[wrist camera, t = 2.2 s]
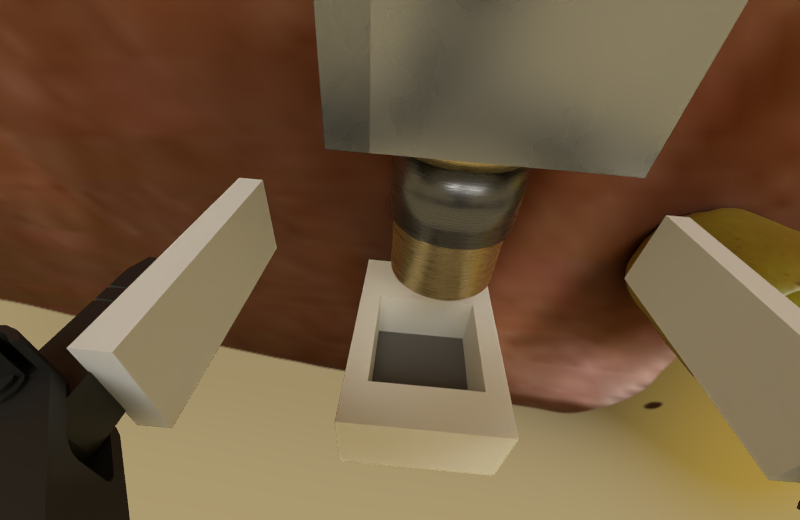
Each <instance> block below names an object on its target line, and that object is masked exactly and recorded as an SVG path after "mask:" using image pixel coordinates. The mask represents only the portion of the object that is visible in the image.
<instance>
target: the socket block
mask: <svg viewBox="0 0 800 520" xmlns="http://www.w3.org/2000/svg"><path fill="white" fill-rule="evenodd" d="M335 428H336V436H337V444H338V452H339V459H340V461H347V462H356V463H368V464H378V465H388V466H399V467H409V468H420V469H430V470H441V471H452V472H463V473H473V474H483V475H494V474H495V473H496V471H497V470H498V468H499V467H500V465H501V464H502V463H503V461H504V460H505V458H506V457H507V456H508V454H509V453H510V451H511V450H512V448H513V447H514V446H515V444H516V443H517V441H518V440H519V437H518V432H517V427H516V422H515V418H514V412H513V408H512V403H511V398H510V393H509V388H508V383H507V378H506V373H505V369H504V364H503V359H502V354H501V349H500V344H499V339H498V335H497V330H496V325H495V320H494V315H493V310H492V306H491V301H490V296H489V291H488V286H487V287H486V288H485V289H484V290H483V291H482V292H480V293H479V294H477V295H475V296H473V297H470V298H467V299H462V300H453V301H446V300H437V299H432V298H428V297H425V296H422V295H420V294H417V293H415V292H413V291H412V290H410V289H408V288H407V287H406V286H404V285H403V284H402V283H401V282H400V281H399V280H398V279H397V277H396V276H395V274H394V272H393V270H392V266H391V261H380V260H369V262H368V267H367V271H366V276H365V281H364V286H363V290H362V295H361V300H360V305H359V309H358V314H357V319H356V323H355V328H354V333H353V338H352V342H351V347H350V352H349V356H348V361H347V366H346V371H345V375H344V380H343V385H342V389H341V394H340V399H339V404H338V408H337V413H336V418H335Z"/></svg>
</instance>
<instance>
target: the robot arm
mask: <svg viewBox="0 0 800 520" xmlns="http://www.w3.org/2000/svg"><path fill="white" fill-rule="evenodd" d="M276 249H277V246H276V242H275V237H274V232H273V227H272V222H271V217H270V212H269V208H268V203H267V198H266V193H265V188H264V183H263V180H258V179H247V178H239V179H238V180H237V181H236V182H235V183H234V184H232V185H231V186H230V187H229V188H228V189H227V190H226V191H225V192H224V193H223V194H222V195H221V196H220V197H219V198H218V199H217V200H216V201H215V202H214V203H213V204H212V205H211V206H210V207H209V208H208V209H207V210H206V211H205V212H204V213H203V214H202V215H201V216H200V217H199V218H198V219H197V220H196V221H195V222H194V223H193V224H192V225H191V226H190V227H189V228H188V229H187V230H186V231H185V232H184V233H183V234H182V235H181V236H180V237H179V238H178V239H177V240H176V241H175V242H174V243H173V244H172V245H171V246H170V247H169V248H168V249H167V250H166V251H165V252H163V253H162V254H161V255H160V256H159V257H158V258H151V257H148V258H147V259H145V260H143V261H141V262H139V263H138V264H136V265H134V266H132V267H130V268H129V269H127V270H126V271H125V272H124V273H122V274H121V275H120V276H119V277H118V278H117V279H116V280H115V281H114V282H113V283H112V284H110V285H111V286H110V288H106V289H105V290H104V291H103V292H102V293H101V294H100V295H99V296H97V297H96V298H97V300H96V301H92V302H91V303H90V304H89V305H88V306H87V307H86V308H84V309H83V310H82V311H81V312H80V313H79V314H78V315H77V316H76V317H75V318H74V319H72V321H70V322H69V323H68V324H67V325H66V326H65V327H64V328H63V329H62V330H61V331H59V332H58V333H57V334H56V335H55V336H54V337H53V338H52V339H51V340H50V341H49V342H48V343H46V344H45V345H44V346H43V347H42V348H41V349H40V350H39V351H38V350H37V349H36V348H35V347H34V346H33V345H32V344H31V343H30V342H29V341H28V340H27V339H26V338H25V337H24V336H22V334H20V332H19V331H17V330H16V329H14V328H11V327H9V326H7V325H0V520H130V518H129V509H128V500H127V493H126V483H125V475H124V466H123V457H122V449H121V440H120V435H119V433H118V430H117V428H116V427H115V425H116V424H117V423H118V421H119V420H120V419H121V417H122V416H123V414H124V413H125V412H126V413H127V414H128V416H129V417H130V418H131V419H132V420H133V421H134V422H135V423H136V424H137V425H143V426H154V427H165V428H172V427H173V426H174V424H175V422H176V420H177V419H178V417H179V415H180V414H181V412H182V410H183V409H184V407H185V405H186V403H187V402H188V400H189V398H190V397H191V395H192V393H193V391H194V390H195V388H196V386H197V385H198V383H199V381H200V379H201V378H202V376H203V374H204V372H205V371H206V369H207V367H208V366H209V364H210V362H211V360H212V359H213V357H214V355H215V354H216V352H217V350H218V348H219V347H220V345H221V343H222V341H223V340H224V338H225V336H226V335H227V333H228V331H229V329H230V328H231V326H232V324H233V323H234V321H235V319H236V317H237V316H238V314H239V312H240V311H241V309H242V307H243V305H244V304H245V302H246V300H247V298H248V297H249V295H250V293H251V292H252V290H253V288H254V286H255V285H256V283H257V281H258V280H259V278H260V276H261V274H262V273H263V271H264V269H265V268H266V266H267V264H268V262H269V261H270V259H271V257H272V255H273V254H274V252H275V250H276ZM624 279H625V280H626V282H627V283H628V285H629V286H630V287H631V289H632V290H633V291H634V293H635V294H636V296H637V297H638V298H639V300H640V301H641V303H642V304H643V305H644V307H645V308H646V310H647V311H648V312H649V314H650V315H651V317H652V318H653V319H654V321H655V322H656V324H657V325H658V326H659V328H660V329H661V331H662V332H663V333H664V335H665V336H666V338H667V339H668V340H669V342H670V343H671V345H672V346H673V347H674V349H675V350H676V352H677V353H678V354H679V356H680V357H681V359H682V360H683V361H684V363H685V364H686V366H687V367H688V368H689V370H690V371H691V372H692V374H693V375H694V377H695V378H696V379H697V381H698V382H699V383H700V385H701V386H702V388H703V389H704V391H705V392H706V393H707V395H708V396H709V397H710V399H711V400H712V402H713V403H714V405H715V406H716V407H717V409H718V410H719V411H720V413H721V414H722V416H723V417H724V419H725V420H726V421H727V423H728V424H729V426H730V427H731V428H732V430H733V431H734V433H735V434H736V435H737V437H738V438H739V439H740V441H741V442H742V444H743V445H744V446H745V448H746V449H747V451H748V452H749V454H750V455H751V456H752V458H753V459H754V460H755V462H756V463H757V465H758V466H759V467H760V469H761V470H762V471H763V473H764V474H765V476H766V477H767V479H768V480H775V481H786V482H798V483H800V308H799V307H798V306H796V305H795V304H794V303H793V302H792V301H790V300H789V299H788V298H787V297H785V296H784V295H783V294H782V293H781V292H779V291H778V290H777V289H776V288H775V287H773V286H772V285H771V284H770V283H769V282H767V281H766V280H765V279H764V278H762V277H761V276H760V275H759V274H758V273H756V272H755V271H754V270H753V269H752V268H750V267H749V266H748V265H747V264H745V263H744V262H743V261H742V260H741V259H739V258H738V257H737V256H736V255H735V254H733V253H732V252H731V251H730V250H729V249H727V248H726V247H725V246H724V245H722V244H721V243H720V242H719V241H718V240H716V239H715V238H714V237H713V236H712V235H710V234H709V233H708V232H707V231H706V230H704V229H703V228H702V227H701V226H699V225H698V224H697V223H696V222H695V221H693V220H692V219H691V218H690V217H680V216H668V215H666V216H665V218H664V219H663V221H662V222H661V224H660V225H659V227H658V228H657V230H656V231H655V233H654V234H653V236H652V237H651V239H650V240H649V242H648V243H647V245H646V246H645V248H644V249H643V251H642V252H641V254H640V255H639V257H638V258H637V260H636V261H635V263H634V264H633V266H632V267H631V269H630V270H629V272H628V273H627V275H626V276H625V278H624ZM797 508H798V509H799V510H800V501H799V503H798V506H797Z"/></svg>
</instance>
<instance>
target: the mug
mask: <svg viewBox="0 0 800 520" xmlns="http://www.w3.org/2000/svg"><path fill="white" fill-rule="evenodd" d="M681 217H690V218H691V219H692V220H693V221H695V222H696V223H697V224H698V225H699V226H701V227H702V228H703V229H704V230H706V231H707V232H708V233H709V234H710V235H712V236H713V237H714V238H715V239H716V240H718V241H719V242H720V243H721V244H722V245H724V246H725V247H726V248H727V249H729V250H730V251H731V252H732V253H733V254H735V255H736V256H737V257H738V258H739V259H741V260H742V261H743V262H744V263H745V264H747V265H748V266H749V267H750V268H752V269H753V270H754V271H755V272H756V273H758V274H759V275H760V276H761V277H762V278H764V279H765V280H766V281H767V282H769V283H770V284H771V285H772V286H773V287H775V288H776V289H777V290H778V291H779V292H781V293H782V294H783V295H784V296H785V297H787V298H788V299H789V300H790V301H792V302H793V303H794V304H795V305H796V306H798V307H799V308H800V232H799V231H796V230H793V229H791V228H788V227H786V226H783V225H781V224H779V223H777V222H775V221H772V220H769V219H767V218H764V217H762V216H759V215H757V214H754V213H751V212H749V211H746V210H743V209H738V208H724V207H723V208H718V209H714V210H710V211H703V212H694V213H691V214H688V215H685V216H681ZM656 230H657V229H656ZM656 230H655V231H656ZM655 231H654V232H652V233H651V234H650V235H649V236H648V237H646V238H645V239H644V240H643V242H642V243H641V245H640V246H639V248H638V249H637V250H636V252H635V253H634V254H633V256H632V257H631V258H630V260H629V262H628V264H627V267H626V271H625V276H626V275H627V273H628V272H629V270H630V269H631V267H632V266H633V264H634V263H635V261H636V260H637V258H638V257H639V255H640V254H641V252H642V251H643V249H644V248H645V246H646V245H647V243H648V242H649V240H650V239H651V237H652V236H653V234H654V233H655ZM625 282H626V280H625ZM626 286H627V288H628V291H629V293H630V295H631V297H632V299H633V300H634V302H635V303H636V304H637V306H638V307H639V308H640V309H641V310H642V311H643V312H644V313H645V315H646V316H647V317H648V319H649V320H650V321H651V323H652V324H653V325H654V327H655V328H656V330H657V331H658V333H659V334H660V335H661V337H662V338H663V340H664V341H665V342H666V344H667V345H668V346H669V347H670V349H671V350H672V351H673V352H674V353H675V355H676V356H677V357H678V358H679V360H680V361H681V362H682V363H683V365H684V366H685V367H686V368H687V370H688V371H689V372H690V373H691V374H692V372H691V371H690V370H689V368H688V367H687V366H686V364H685V363H684V361H683V360H682V359H681V357H680V356H679V354H678V353H677V352H676V350H675V349H674V347H673V346H672V345H671V343H670V342H669V340H668V339H667V338H666V336H665V335H664V333H663V332H662V331H661V329H660V328H659V326H658V325H657V324H656V322H655V321H654V319H653V318H652V317H651V315H650V314H649V312H648V311H647V310H646V308H645V307H644V305H643V304H642V303H641V301H640V300H639V298H638V297H637V296H636V294H635V293H634V291H633V290H632V289H631V287H630V286H629V285H628V283H627V282H626ZM692 375H693V374H692ZM693 376H694V375H693Z"/></svg>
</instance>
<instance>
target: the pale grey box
mask: <svg viewBox="0 0 800 520" xmlns="http://www.w3.org/2000/svg"><path fill="white" fill-rule="evenodd" d="M313 1H314V14H315V26H316V39H317V52H318V65H319V78H320V91H321V103H322V116H323V129H324V142H325V149H330V150H341V151H352V152H363V153H374V154H386V155H397V156H408V157H419V158H430V159H441V160H452V161H463V162H474V163H485V164H496V165H507V166H518V167H529V168H540V169H551V170H562V171H573V172H584V173H595V174H606V175H617V176H628V177H639V178H645V177H646V175H647V173H648V172H649V170H650V168H651V167H652V165H653V163H654V161H655V160H656V158H657V156H658V155H659V153H660V151H661V149H662V148H663V146H664V144H665V143H666V141H667V139H668V137H669V136H670V134H671V132H672V131H673V129H674V127H675V125H676V124H677V122H678V120H679V119H680V117H681V115H682V113H683V112H684V110H685V108H686V107H687V105H688V103H689V101H690V100H691V98H692V96H693V94H694V93H695V91H696V89H697V88H698V86H699V84H700V82H701V81H702V79H703V77H704V76H705V74H706V72H707V70H708V69H709V67H710V65H711V64H712V62H713V60H714V58H715V57H716V55H717V53H718V52H719V50H720V48H721V46H722V45H723V43H724V41H725V40H726V38H727V36H728V34H729V33H730V31H731V29H732V28H733V26H734V24H735V22H736V21H737V19H738V17H739V16H740V14H741V12H742V10H743V9H744V7H745V5H746V4H747V2H748V0H313Z"/></svg>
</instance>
